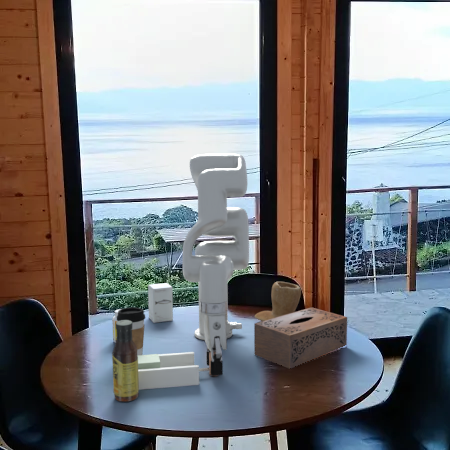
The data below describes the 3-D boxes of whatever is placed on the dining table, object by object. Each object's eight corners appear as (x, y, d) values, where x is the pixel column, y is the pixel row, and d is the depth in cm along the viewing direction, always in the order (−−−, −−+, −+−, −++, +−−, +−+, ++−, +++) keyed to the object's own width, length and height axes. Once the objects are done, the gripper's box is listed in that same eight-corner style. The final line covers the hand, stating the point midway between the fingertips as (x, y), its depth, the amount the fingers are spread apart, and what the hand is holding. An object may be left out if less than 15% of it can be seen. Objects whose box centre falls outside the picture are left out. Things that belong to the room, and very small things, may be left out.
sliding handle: (217, 369, 161) (217, 348, 160) (221, 377, 155) (221, 356, 154) (137, 375, 157) (136, 354, 156) (137, 384, 151) (137, 362, 150)
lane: (194, 368, 162) (193, 348, 161) (199, 384, 151) (198, 363, 151) (129, 373, 159) (128, 353, 158) (130, 390, 148) (129, 368, 147)
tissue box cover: (311, 336, 189) (311, 307, 188) (346, 348, 178) (347, 317, 177) (254, 355, 173) (254, 323, 171) (289, 369, 162) (289, 335, 160)
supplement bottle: (133, 341, 185) (132, 310, 184) (118, 345, 182) (117, 314, 180) (125, 337, 189) (124, 307, 188) (110, 340, 186) (109, 310, 184)
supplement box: (153, 323, 204) (152, 288, 202) (148, 317, 211) (147, 284, 209) (173, 321, 206) (172, 286, 205) (168, 315, 213) (167, 282, 211)
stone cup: (307, 326, 199) (308, 284, 197) (282, 333, 192) (282, 289, 190) (278, 315, 211) (278, 276, 209) (253, 322, 204) (253, 281, 202)
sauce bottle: (115, 393, 147) (112, 318, 144) (139, 391, 147) (137, 317, 145) (112, 404, 140) (109, 326, 138) (138, 403, 141) (135, 325, 138)
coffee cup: (123, 365, 165) (121, 315, 163) (114, 356, 172) (112, 308, 170) (150, 360, 169) (149, 311, 167) (141, 351, 176) (139, 304, 174)
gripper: (233, 315, 147) (234, 381, 150) (221, 297, 164) (222, 357, 167) (204, 316, 146) (205, 383, 148) (195, 299, 163) (196, 359, 165)
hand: (214, 369), depth 157 cm, fingers open, 6 cm apart
